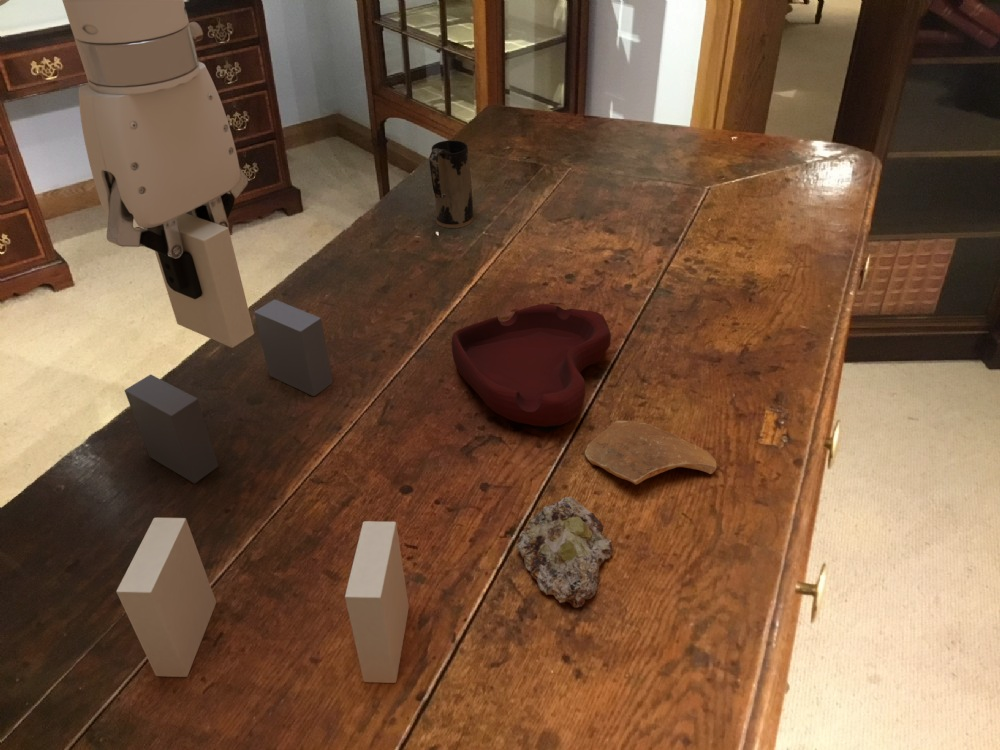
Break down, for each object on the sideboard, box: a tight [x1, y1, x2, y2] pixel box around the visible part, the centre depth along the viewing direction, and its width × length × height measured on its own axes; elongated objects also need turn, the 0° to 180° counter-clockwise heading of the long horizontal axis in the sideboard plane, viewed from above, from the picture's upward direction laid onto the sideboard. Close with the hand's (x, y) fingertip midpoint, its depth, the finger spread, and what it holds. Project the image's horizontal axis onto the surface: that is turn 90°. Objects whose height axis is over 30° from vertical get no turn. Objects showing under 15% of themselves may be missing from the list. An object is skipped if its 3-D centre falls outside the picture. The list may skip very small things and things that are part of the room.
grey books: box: [124, 298, 334, 484], centre depth 87 cm, size 7×19×8 cm, turn 145°
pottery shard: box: [584, 420, 717, 485], centre depth 81 cm, size 10×9×2 cm
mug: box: [428, 139, 474, 229], centre depth 120 cm, size 8×6×12 cm
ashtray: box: [451, 303, 612, 433], centre depth 91 cm, size 18×16×5 cm
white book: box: [154, 212, 255, 349], centre depth 70 cm, size 7×2×10 cm, turn 56°
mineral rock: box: [515, 496, 614, 609], centre depth 72 cm, size 11×4×8 cm
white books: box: [115, 517, 410, 684], centre depth 64 cm, size 18×7×10 cm, turn 87°
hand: (202, 282), depth 70 cm, fingers closed on white book, 2 cm apart
